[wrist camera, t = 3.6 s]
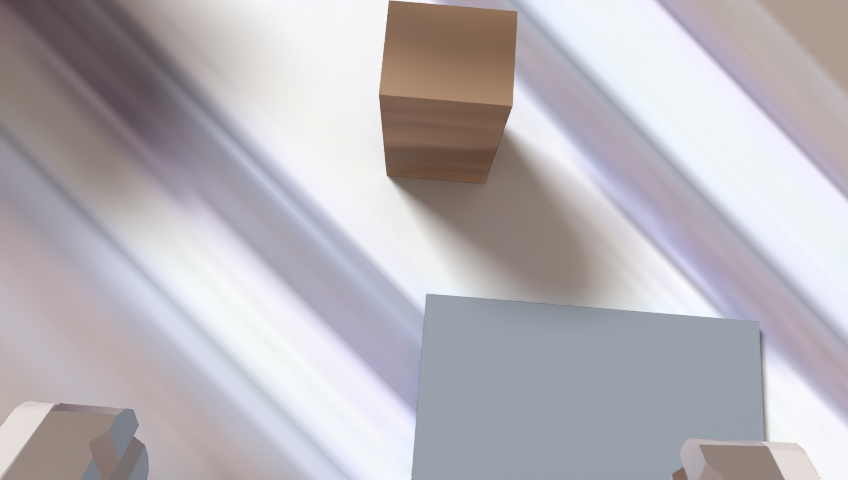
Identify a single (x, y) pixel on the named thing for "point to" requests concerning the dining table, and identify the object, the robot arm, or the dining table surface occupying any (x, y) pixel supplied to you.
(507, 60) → the walnut block
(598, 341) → the rubber mat
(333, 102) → the dining table surface
